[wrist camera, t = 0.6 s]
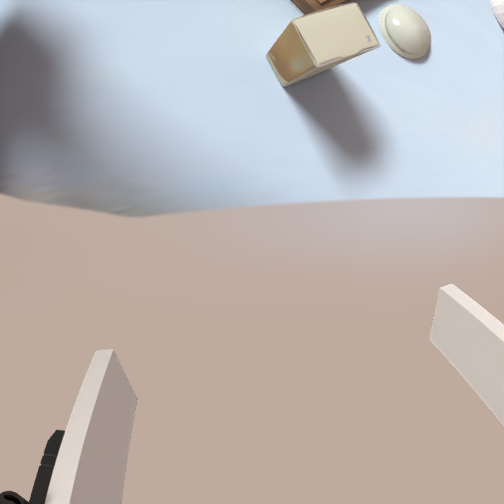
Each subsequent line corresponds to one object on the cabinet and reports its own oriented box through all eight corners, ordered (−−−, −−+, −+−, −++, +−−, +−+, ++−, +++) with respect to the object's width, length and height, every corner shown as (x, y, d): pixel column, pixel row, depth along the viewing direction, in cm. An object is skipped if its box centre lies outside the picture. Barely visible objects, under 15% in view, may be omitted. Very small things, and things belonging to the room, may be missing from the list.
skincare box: (312, 37, 28) (360, -1, 16) (329, 69, 29) (385, 45, 18) (261, 56, 28) (289, 17, 17) (280, 89, 30) (317, 67, 18)
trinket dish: (365, 18, 27) (372, 14, 26) (401, -1, 26) (408, -5, 24) (403, 68, 30) (411, 67, 29) (435, 45, 29) (443, 44, 27)
